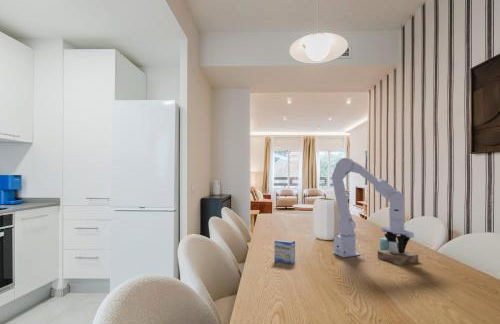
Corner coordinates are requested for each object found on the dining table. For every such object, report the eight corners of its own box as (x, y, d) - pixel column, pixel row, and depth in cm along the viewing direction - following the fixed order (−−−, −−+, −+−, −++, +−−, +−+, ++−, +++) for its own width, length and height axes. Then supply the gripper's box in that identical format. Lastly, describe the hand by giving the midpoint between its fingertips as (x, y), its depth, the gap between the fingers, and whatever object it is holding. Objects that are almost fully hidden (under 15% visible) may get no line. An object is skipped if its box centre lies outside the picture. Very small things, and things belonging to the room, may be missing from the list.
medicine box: (274, 261, 125) (274, 240, 125) (278, 258, 128) (278, 238, 129) (291, 264, 121) (291, 242, 121) (295, 261, 125) (295, 240, 125)
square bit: (397, 257, 124) (397, 243, 124) (389, 255, 127) (389, 241, 127) (404, 256, 125) (403, 242, 125) (396, 254, 129) (395, 240, 129)
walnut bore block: (399, 265, 119) (399, 257, 119) (377, 258, 129) (377, 251, 129) (418, 261, 123) (418, 254, 124) (395, 255, 134) (395, 248, 134)
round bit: (387, 253, 136) (386, 240, 137) (377, 250, 142) (377, 238, 142) (395, 252, 139) (395, 239, 139) (385, 249, 144) (385, 237, 144)
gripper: (418, 221, 122) (419, 254, 121) (389, 216, 135) (390, 246, 135) (406, 222, 119) (407, 256, 119) (377, 217, 132) (378, 248, 132)
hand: (397, 251), depth 126 cm, fingers closed on square bit, 4 cm apart
